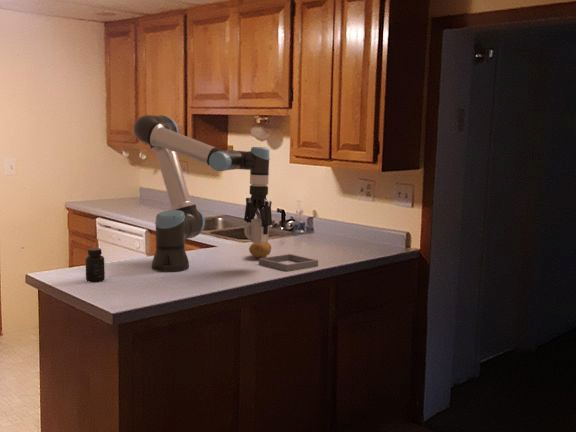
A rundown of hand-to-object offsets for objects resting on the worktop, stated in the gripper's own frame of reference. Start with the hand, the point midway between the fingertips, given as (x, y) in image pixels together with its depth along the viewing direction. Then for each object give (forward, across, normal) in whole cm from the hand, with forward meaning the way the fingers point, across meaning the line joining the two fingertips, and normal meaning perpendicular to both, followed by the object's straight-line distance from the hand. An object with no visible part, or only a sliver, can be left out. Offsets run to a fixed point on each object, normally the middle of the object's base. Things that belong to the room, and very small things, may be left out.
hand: (257, 240), depth 268 cm
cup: (+1, +1, 0) cm, 1 cm away
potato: (+13, +18, -17) cm, 28 cm away
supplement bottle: (+14, +21, +61) cm, 66 cm away
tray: (+12, -2, -16) cm, 20 cm away
